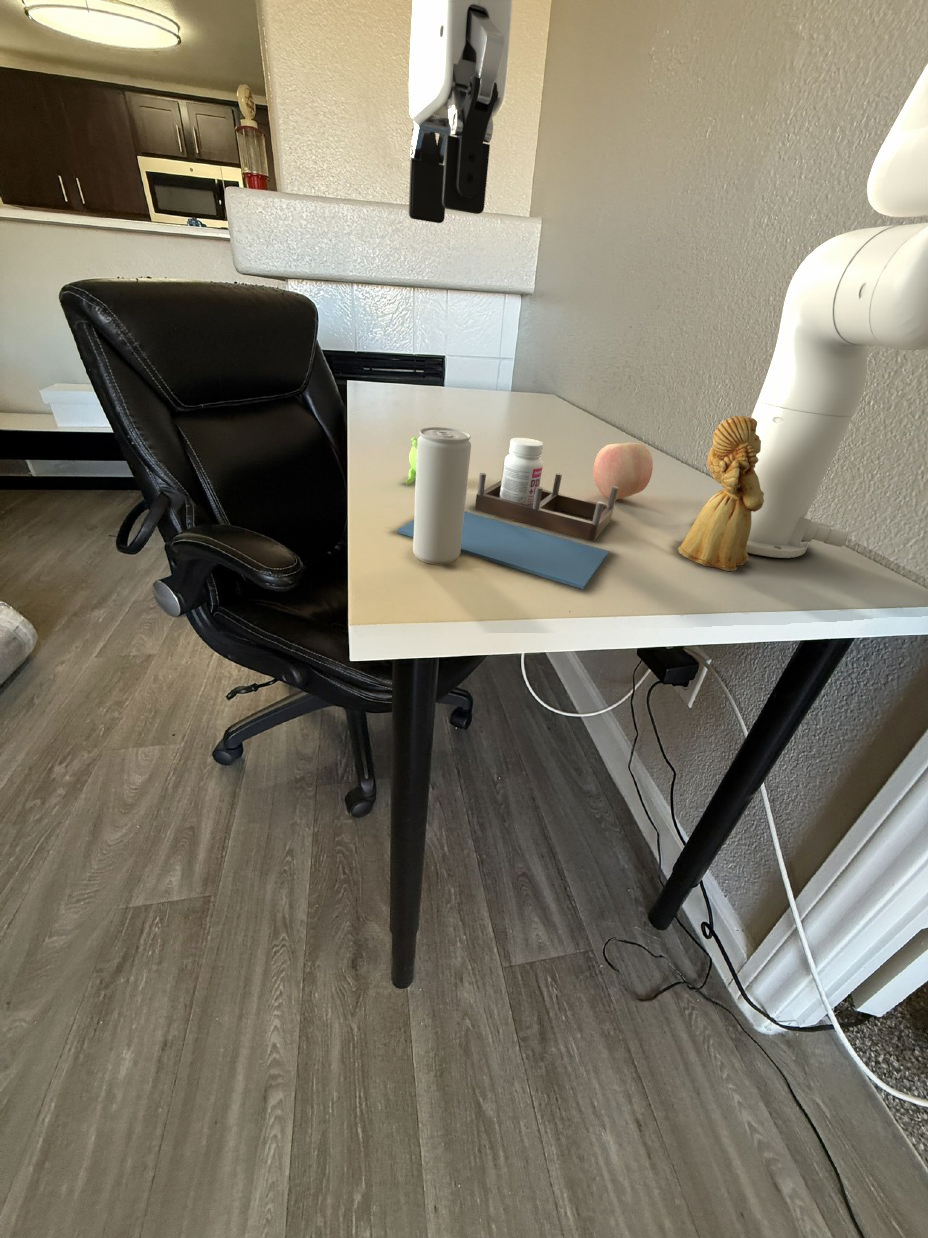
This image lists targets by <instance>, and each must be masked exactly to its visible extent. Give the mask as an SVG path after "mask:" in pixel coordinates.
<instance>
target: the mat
mask: <svg viewBox="0 0 928 1238" xmlns="http://www.w3.org/2000/svg"><path fill="white" fill-rule="evenodd" d="M397 534H401V535H404V536H407V537H410V538H414V520H413V521H410V522H408V523H407V524H405V525H403V526H401V527H399V528H397ZM460 553H463V554H465V555H469V556H472V557H476V558H480V559H482V560H485V561H489V562H492V563H496V564H499V565H502V566H505V567H508V568H512V569H515V570H519V571H522V572H525V573H529V574H531V575H535V576H538V577H540V578H541V577H542V578H544V579H548V580H551V581H555V582H557V583H561V584H563V585H568V586H571V587H574V588H577V589H580V590H584V589H585V588H586V586H587V585H588V584H589V582H590V581H591V580H592V578H593V577H594V576H595V574H596V572H597V571H598V570H599V568H600V567H601V566H602V564H603V563H604V562H605V560H606V559H607V557H608V556H609V555H610V551H609V550H607V549H602V548H599V547H595V546H592V545H588V544H585V543H581V542H577V541H574V540H570V539H566V538H563V537H559V536H556V535H552V534H548V533H545V532H542V531H538V530H533V529H530V528H526V527H522V526H519V525H515V524H512V523H508V522H504V521H501V520H498V519H494V518H490V517H486V516H483V515H479V514H475V513H473V512H468V511H466V510H465V511H464V521H463V531H462V541H461V551H460Z"/></svg>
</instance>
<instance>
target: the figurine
mask: <svg viewBox="0 0 928 1238" xmlns="http://www.w3.org/2000/svg"><path fill="white" fill-rule="evenodd" d="M717 425H718V426H717V427H716V429H715V430H714V431H715V432H714V433H713V436H712V447H711V448H710V449H709V452H708V455H707V459H706V462H707V463H706V464H707V468H708V470H709V471H710V474H711V475H712V478H713V479H714V480H715V482H717V483H718V484H721V486H722V488H723V489H721V490H719V491H718V492H717V491H716V493H715V494H714V495H712V496H711V497H710V498H709V499H708V500H707V502H706V503H705V505H704V506H703V508H702V509H701V510H700V512H699V514H698V515H697V517H696V519H695V520H694V522H693V524H692V525H691V528H690V529H689V531H688V533H687V535H686V537H685V538H684V539H683V541H682V542H681V545H680V546H678V548H677V550H678V553H679V554H680V555H681V556H682V557H684V558H686V559H688V560H690V561H692V562H695V563H697V564H699V565H701V566H703V567H708V568H715V569H716V568H717V569H718V570H723V571H726V572H734V571H737V568H738V567H737V566H743V565H745V563H746V562H747V561H748V560H749V553H747V551H746V545H747V541H748V538H749V535H750V530H751V512H752V511H753V512H756V511H758V510H759V509H761V508H762V505H763V503H764V497H763V496H764V492H762V491H761V489H760V483H759V479H758V476H757V474H756V473H755V470H754V468H755V464H756V463H757V462H758V461H759V460H758V457H756V454H758V453H760V452H761V440H760V439H759V436H758V435H756V427H757V421H756V420H755V419H754V418H751V417H750V416H746V415H742V416H741V415H734V416H731V417H728V418H727V419H725V420H723V421H722V422H721V423H719V424H717Z"/></svg>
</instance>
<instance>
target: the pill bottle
mask: <svg viewBox="0 0 928 1238" xmlns="http://www.w3.org/2000/svg"><path fill="white" fill-rule="evenodd" d="M508 449H509V450H508V452H509V454H507V455H506V456H505V458H504V461H505V462H504V461H503V462H504V469H503V468H502V470H503V476H502V475H501V477H502V484H501V491H500V497H499V498H502V499H506V500H510V501H514V502H518V503H522V504H526V505H530V506H533V501H534V495H535V490H536V487H540V484H541V478H542V473H543V468H544V461H543V460H542V458H541V457H542V455H543V451H544V442H542V441H541V440H537V439H533V438H528V437H513V438H511V439H510V441H509V447H508Z"/></svg>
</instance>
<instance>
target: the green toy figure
mask: <svg viewBox="0 0 928 1238" xmlns="http://www.w3.org/2000/svg"><path fill="white" fill-rule="evenodd" d="M417 441H418V438H416V437H415V436H413V437H411V445H412V447H411V448H410V451H409V453H408V461H409V464H410V469H409V470H408V478H407V479H406V481H405V485H406V486H408V485H410V484H411V483H412V482H413V481H414V480H416V462H417Z"/></svg>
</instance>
